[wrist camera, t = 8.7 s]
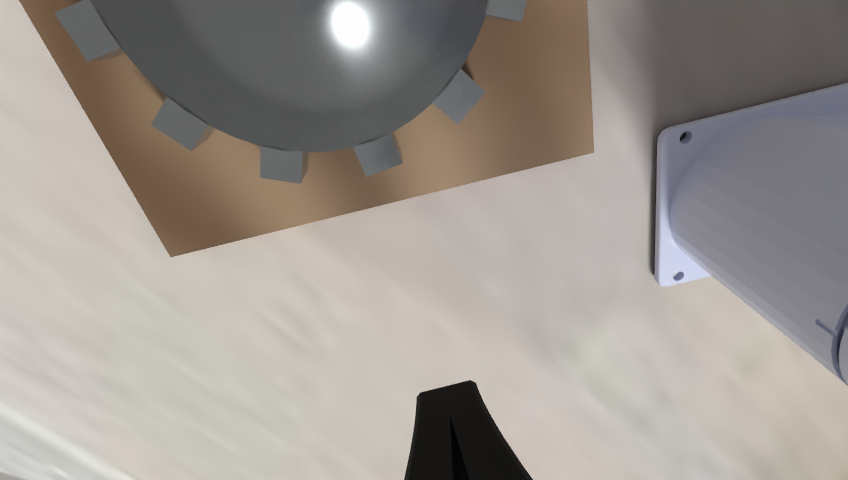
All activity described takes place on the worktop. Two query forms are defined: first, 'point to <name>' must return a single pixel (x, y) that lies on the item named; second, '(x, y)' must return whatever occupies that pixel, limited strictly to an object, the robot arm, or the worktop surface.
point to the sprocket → (294, 68)
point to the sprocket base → (341, 170)
